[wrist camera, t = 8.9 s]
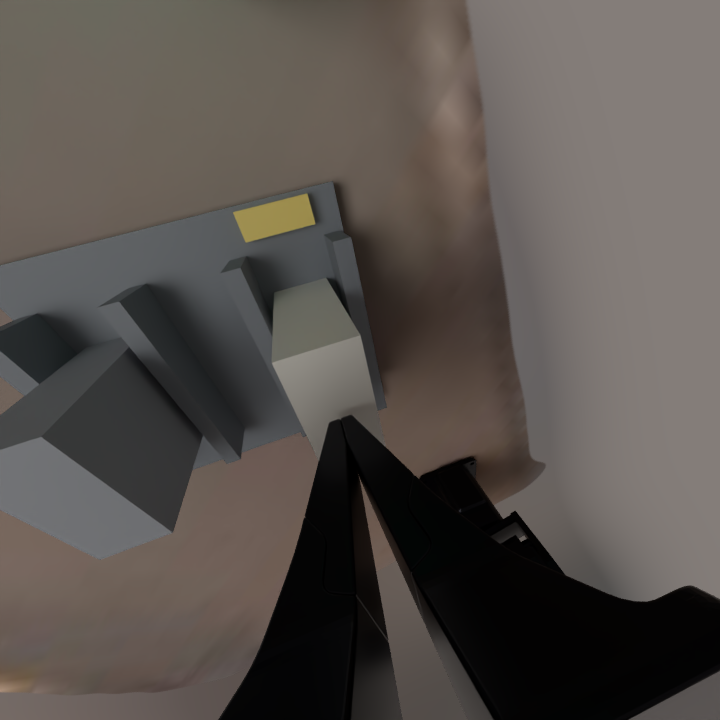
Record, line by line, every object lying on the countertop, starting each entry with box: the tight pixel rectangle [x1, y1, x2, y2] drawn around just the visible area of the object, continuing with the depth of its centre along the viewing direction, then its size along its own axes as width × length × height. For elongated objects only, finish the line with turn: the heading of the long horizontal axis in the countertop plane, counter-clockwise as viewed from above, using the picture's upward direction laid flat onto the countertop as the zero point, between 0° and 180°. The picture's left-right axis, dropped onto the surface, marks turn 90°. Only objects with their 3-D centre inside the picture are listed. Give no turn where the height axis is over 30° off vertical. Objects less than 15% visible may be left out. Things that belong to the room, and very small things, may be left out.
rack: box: [0, 181, 387, 560], centre depth 13 cm, size 14×15×8 cm
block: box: [272, 278, 386, 461], centre depth 13 cm, size 6×3×7 cm, turn 12°
